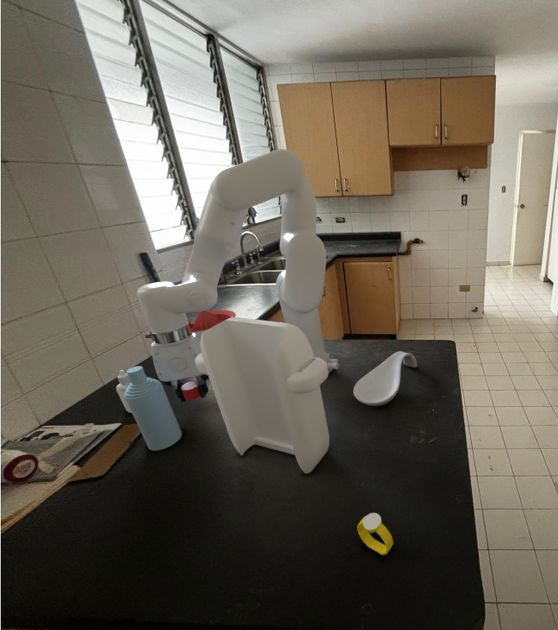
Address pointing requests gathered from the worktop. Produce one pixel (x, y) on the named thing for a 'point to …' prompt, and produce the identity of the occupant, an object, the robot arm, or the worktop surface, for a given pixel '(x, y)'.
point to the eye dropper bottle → (123, 388)
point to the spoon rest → (383, 380)
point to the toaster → (267, 387)
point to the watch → (375, 525)
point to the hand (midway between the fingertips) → (194, 396)
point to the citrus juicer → (209, 320)
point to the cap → (190, 390)
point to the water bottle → (151, 410)
